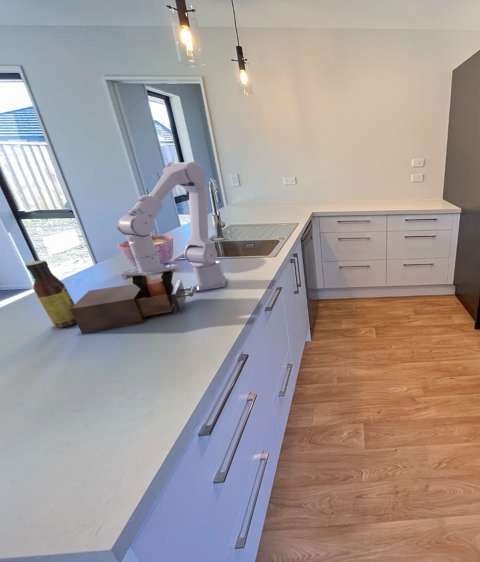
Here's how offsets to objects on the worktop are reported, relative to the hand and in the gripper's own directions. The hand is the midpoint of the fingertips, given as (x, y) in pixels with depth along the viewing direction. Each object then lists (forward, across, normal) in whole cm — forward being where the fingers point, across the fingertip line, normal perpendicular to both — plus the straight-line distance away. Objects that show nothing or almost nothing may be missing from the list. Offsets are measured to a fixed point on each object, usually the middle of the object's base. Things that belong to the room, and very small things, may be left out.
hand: (160, 295), depth 96 cm
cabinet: (+5, -12, 0) cm, 13 cm away
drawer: (+4, +1, 0) cm, 4 cm away
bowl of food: (+6, -13, +50) cm, 52 cm away
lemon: (+6, -10, +20) cm, 23 cm away
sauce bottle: (+6, -26, +3) cm, 27 cm away
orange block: (+1, 0, 0) cm, 1 cm away
